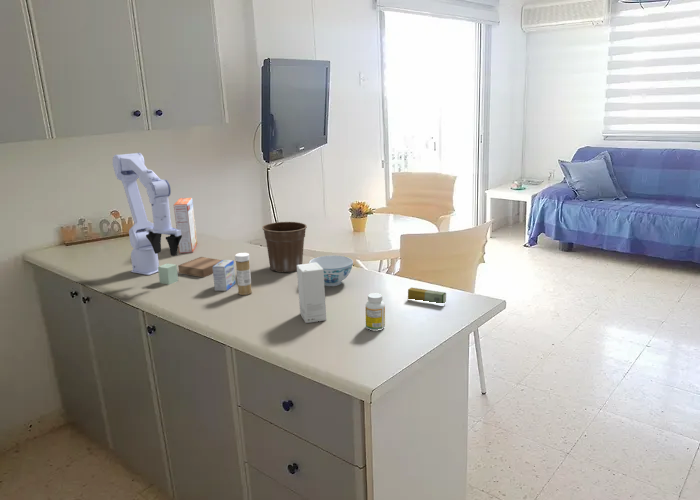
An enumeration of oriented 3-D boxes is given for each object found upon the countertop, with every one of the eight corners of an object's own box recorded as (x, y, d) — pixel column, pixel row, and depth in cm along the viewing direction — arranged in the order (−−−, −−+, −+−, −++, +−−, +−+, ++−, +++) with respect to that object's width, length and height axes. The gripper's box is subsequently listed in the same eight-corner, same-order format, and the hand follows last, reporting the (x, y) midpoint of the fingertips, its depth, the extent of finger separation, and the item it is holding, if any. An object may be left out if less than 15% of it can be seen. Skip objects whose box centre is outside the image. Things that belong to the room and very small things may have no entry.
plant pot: (302, 259, 223) (300, 219, 218) (313, 271, 208) (311, 228, 204) (261, 264, 218) (258, 223, 214) (269, 276, 203) (266, 233, 199)
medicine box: (226, 291, 189) (224, 266, 187) (214, 290, 190) (212, 266, 188) (235, 283, 197) (234, 259, 194) (223, 283, 197) (221, 259, 195)
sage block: (159, 283, 199) (157, 266, 197) (169, 279, 203) (167, 263, 201) (169, 284, 197) (167, 268, 195) (178, 280, 201) (176, 264, 199)
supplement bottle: (377, 333, 154) (376, 300, 152) (361, 328, 158) (361, 296, 155) (388, 327, 158) (388, 294, 156) (373, 322, 162) (373, 290, 159)
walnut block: (179, 273, 209) (178, 265, 209) (201, 264, 220) (200, 256, 219) (203, 277, 204) (203, 269, 203) (225, 268, 214) (225, 260, 213)
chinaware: (360, 279, 199) (360, 257, 197) (341, 292, 186) (341, 270, 184) (322, 274, 205) (321, 253, 203) (302, 287, 192) (301, 265, 190)
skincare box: (326, 321, 163) (324, 269, 159) (304, 324, 161) (301, 272, 157) (319, 310, 171) (317, 261, 167) (298, 313, 169) (295, 263, 165)
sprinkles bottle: (249, 290, 190) (246, 251, 186) (253, 294, 186) (250, 254, 182) (236, 292, 188) (233, 253, 184) (240, 296, 184) (236, 256, 180)
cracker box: (183, 244, 248) (178, 197, 243) (197, 244, 249) (193, 197, 243) (178, 253, 235) (172, 204, 229) (192, 252, 235) (187, 203, 230)
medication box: (446, 304, 174) (447, 292, 173) (443, 307, 172) (443, 295, 171) (410, 298, 180) (410, 286, 179) (407, 301, 178) (407, 289, 177)
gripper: (137, 216, 193) (142, 254, 197) (168, 220, 187) (172, 259, 190) (153, 212, 199) (157, 249, 203) (183, 215, 193) (187, 254, 196)
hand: (165, 254), depth 197 cm, fingers open, 7 cm apart
